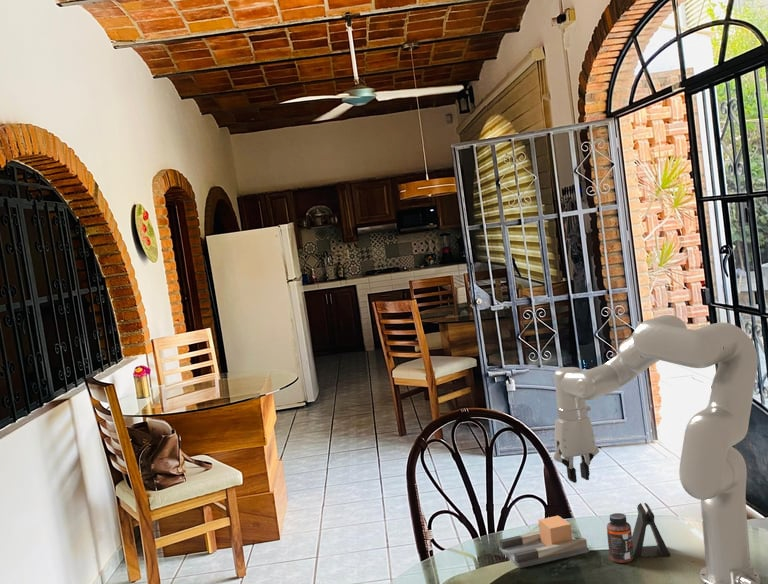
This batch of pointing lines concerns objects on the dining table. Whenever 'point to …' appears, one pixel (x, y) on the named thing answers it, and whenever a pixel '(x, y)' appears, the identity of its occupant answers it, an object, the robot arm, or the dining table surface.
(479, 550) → the dining table surface
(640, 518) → the dark a-frame stand
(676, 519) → the dining table surface
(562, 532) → the block
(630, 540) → the supplement bottle
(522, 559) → the chute
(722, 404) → the robot arm
